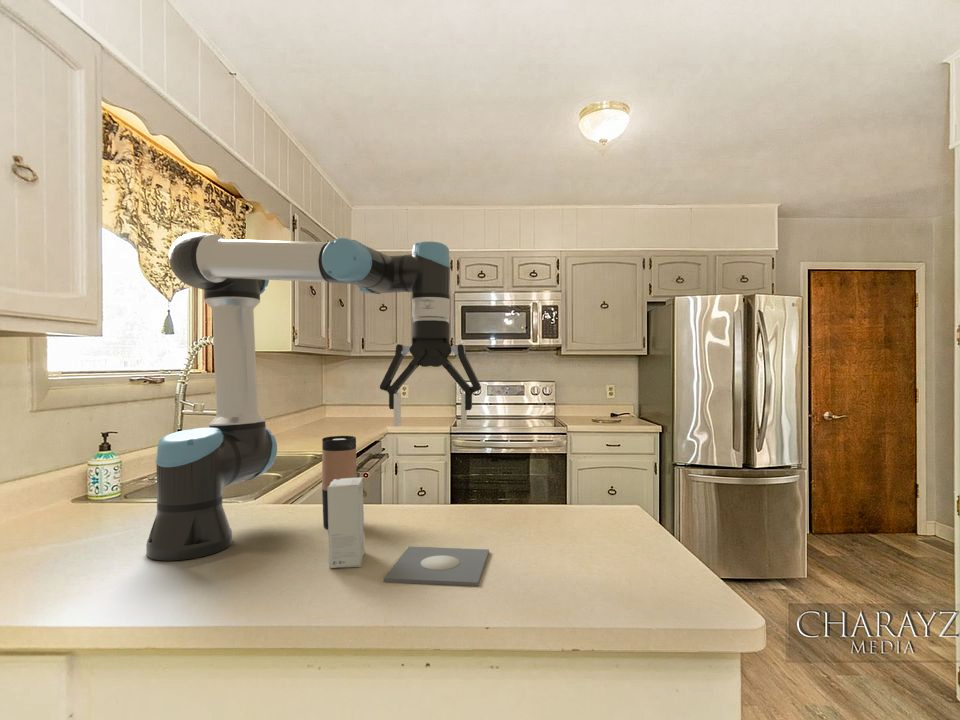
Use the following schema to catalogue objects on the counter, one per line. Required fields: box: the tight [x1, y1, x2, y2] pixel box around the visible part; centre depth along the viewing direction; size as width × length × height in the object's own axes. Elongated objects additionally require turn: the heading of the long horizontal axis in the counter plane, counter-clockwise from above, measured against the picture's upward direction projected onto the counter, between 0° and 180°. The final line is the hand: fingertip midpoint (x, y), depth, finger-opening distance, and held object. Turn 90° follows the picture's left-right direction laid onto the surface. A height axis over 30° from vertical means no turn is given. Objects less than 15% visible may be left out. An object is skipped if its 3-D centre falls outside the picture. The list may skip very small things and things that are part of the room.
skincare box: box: [327, 476, 366, 569], centre depth 101 cm, size 8×6×15 cm
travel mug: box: [321, 435, 358, 530], centre depth 123 cm, size 8×8×20 cm
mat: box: [383, 546, 490, 587], centre depth 97 cm, size 16×16×1 cm
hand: (430, 426), depth 108 cm, fingers open, 13 cm apart
